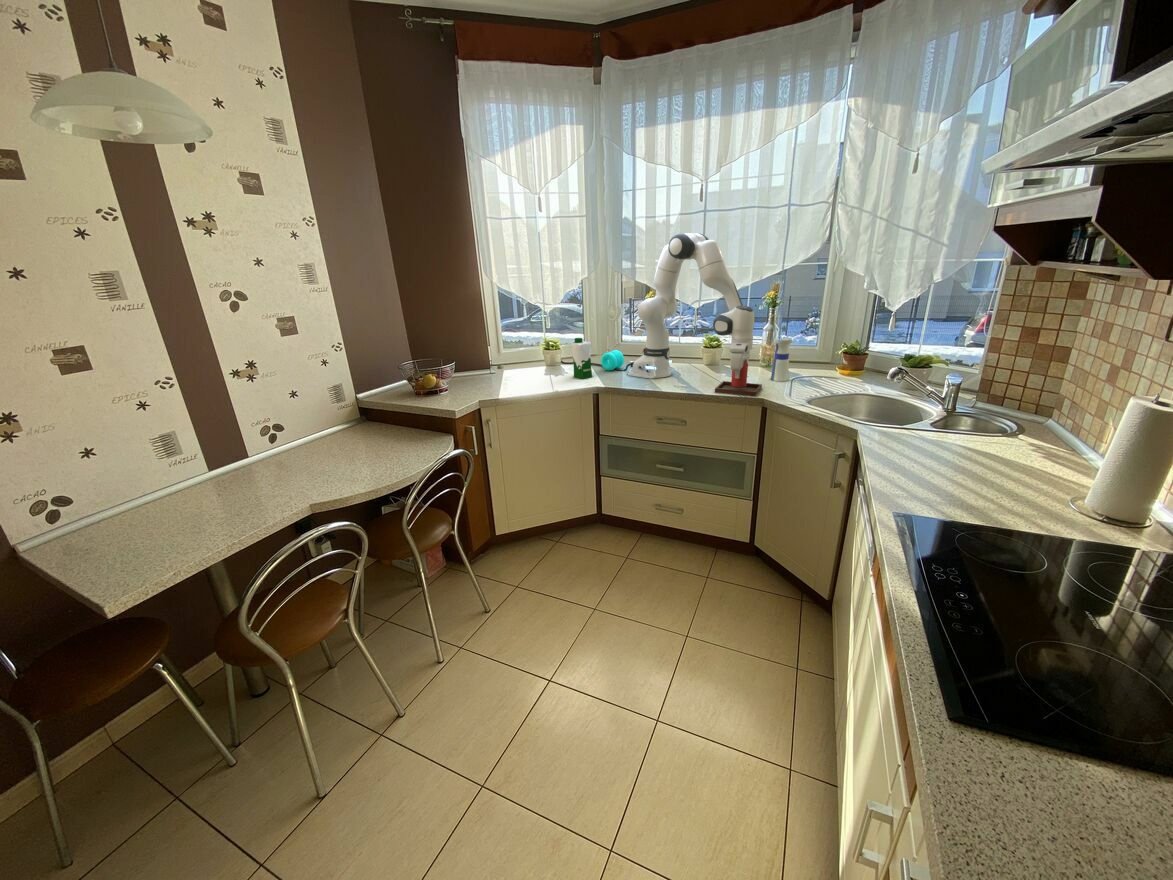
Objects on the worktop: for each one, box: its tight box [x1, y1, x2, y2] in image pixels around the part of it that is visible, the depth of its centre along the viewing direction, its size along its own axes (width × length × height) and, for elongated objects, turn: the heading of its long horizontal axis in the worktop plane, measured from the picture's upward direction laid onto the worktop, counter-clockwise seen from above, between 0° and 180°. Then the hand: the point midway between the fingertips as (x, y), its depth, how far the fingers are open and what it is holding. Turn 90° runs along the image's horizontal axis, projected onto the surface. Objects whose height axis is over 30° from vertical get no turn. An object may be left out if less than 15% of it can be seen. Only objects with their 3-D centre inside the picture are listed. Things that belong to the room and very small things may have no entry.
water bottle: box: [770, 325, 793, 382], centre depth 224 cm, size 8×9×25 cm
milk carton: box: [570, 337, 593, 380], centre depth 247 cm, size 9×9×20 cm
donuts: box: [600, 349, 625, 372], centre depth 262 cm, size 10×10×10 cm
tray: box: [714, 380, 763, 398], centre depth 213 cm, size 18×14×2 cm
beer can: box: [730, 359, 749, 388], centre depth 211 cm, size 7×7×12 cm
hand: (739, 376), depth 211 cm, fingers closed on beer can, 6 cm apart
